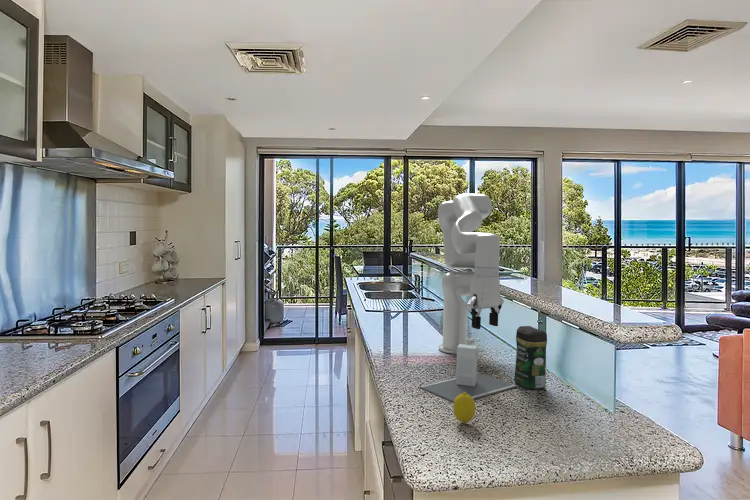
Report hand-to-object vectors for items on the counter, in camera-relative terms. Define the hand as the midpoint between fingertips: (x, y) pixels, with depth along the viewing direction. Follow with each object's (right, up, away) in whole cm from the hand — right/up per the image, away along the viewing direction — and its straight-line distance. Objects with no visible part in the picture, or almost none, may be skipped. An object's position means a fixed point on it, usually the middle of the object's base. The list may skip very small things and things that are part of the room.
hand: (484, 326), depth 155 cm
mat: (-6, -18, -6) cm, 20 cm away
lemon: (-13, -20, -33) cm, 40 cm away
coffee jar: (+14, -18, -3) cm, 23 cm away
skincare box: (-7, -18, -3) cm, 19 cm away
